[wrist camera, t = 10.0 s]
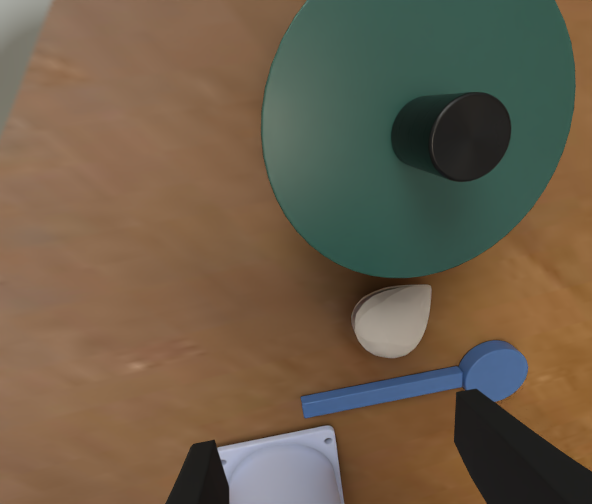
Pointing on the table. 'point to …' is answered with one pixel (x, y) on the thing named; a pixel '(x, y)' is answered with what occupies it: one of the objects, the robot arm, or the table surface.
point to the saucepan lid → (415, 126)
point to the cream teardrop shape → (392, 319)
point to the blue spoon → (433, 381)
